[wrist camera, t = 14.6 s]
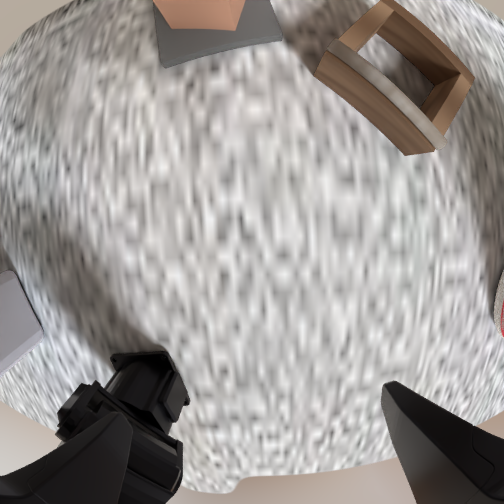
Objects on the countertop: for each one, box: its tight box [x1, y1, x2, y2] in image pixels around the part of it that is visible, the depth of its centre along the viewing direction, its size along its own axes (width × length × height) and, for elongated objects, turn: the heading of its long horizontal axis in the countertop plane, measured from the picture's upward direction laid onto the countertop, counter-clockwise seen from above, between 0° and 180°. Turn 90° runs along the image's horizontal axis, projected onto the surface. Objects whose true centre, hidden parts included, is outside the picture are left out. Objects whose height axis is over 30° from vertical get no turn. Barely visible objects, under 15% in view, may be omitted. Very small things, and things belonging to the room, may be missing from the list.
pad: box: [153, 0, 283, 68], centre depth 14 cm, size 9×9×1 cm
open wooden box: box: [314, 0, 475, 156], centre depth 13 cm, size 9×9×5 cm
